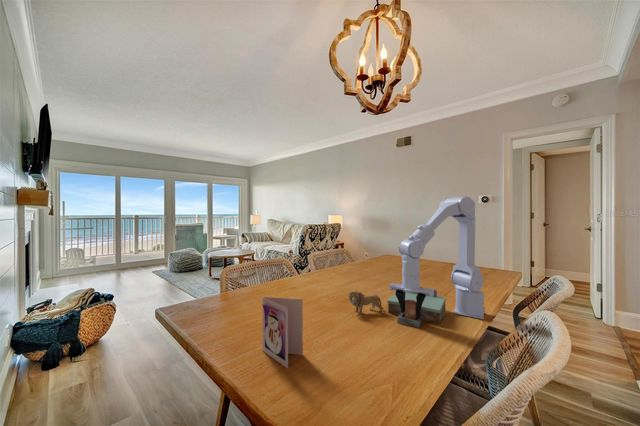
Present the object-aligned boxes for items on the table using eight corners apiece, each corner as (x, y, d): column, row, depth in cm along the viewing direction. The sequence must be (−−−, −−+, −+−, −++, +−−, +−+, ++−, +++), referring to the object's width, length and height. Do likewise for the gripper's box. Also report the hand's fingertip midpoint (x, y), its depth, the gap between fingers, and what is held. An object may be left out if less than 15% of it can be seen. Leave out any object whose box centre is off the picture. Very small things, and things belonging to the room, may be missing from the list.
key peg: (417, 320, 91) (418, 301, 91) (415, 325, 88) (415, 304, 88) (406, 318, 93) (406, 298, 93) (403, 322, 90) (403, 302, 90)
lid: (445, 300, 100) (445, 291, 100) (439, 313, 87) (439, 302, 87) (398, 292, 110) (398, 283, 110) (387, 302, 97) (387, 293, 97)
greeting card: (260, 351, 71) (259, 297, 71) (282, 342, 76) (281, 291, 76) (285, 370, 63) (284, 308, 63) (307, 357, 68) (307, 301, 68)
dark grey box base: (445, 310, 100) (445, 300, 100) (437, 332, 83) (437, 319, 82) (398, 301, 110) (398, 292, 110) (382, 319, 92) (382, 308, 92)
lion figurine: (352, 317, 94) (351, 293, 94) (345, 312, 99) (345, 288, 99) (387, 312, 98) (387, 289, 98) (379, 307, 103) (379, 285, 103)
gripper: (386, 274, 91) (386, 312, 91) (431, 280, 83) (431, 322, 83) (392, 270, 97) (392, 306, 97) (434, 275, 89) (434, 314, 89)
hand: (410, 313), depth 90 cm, fingers open, 4 cm apart
